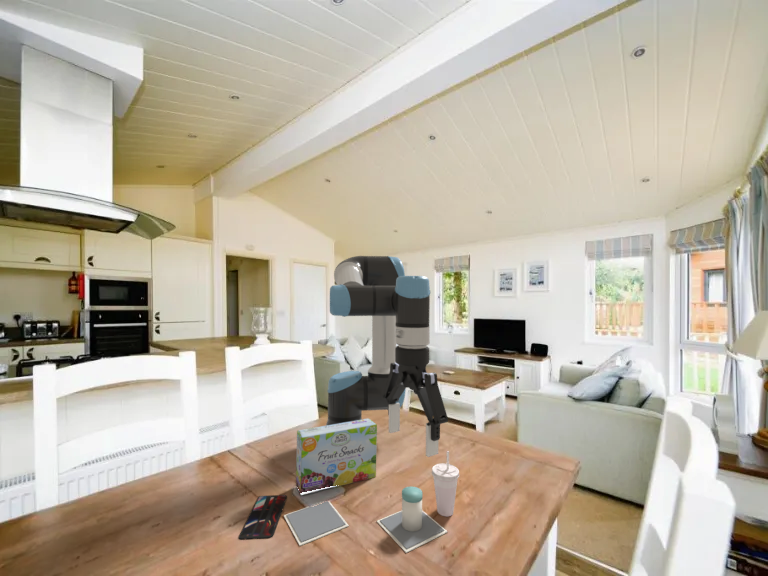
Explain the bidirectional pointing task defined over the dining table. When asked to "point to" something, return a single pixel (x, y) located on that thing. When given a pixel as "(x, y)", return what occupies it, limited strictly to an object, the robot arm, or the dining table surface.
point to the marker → (412, 508)
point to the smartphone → (263, 517)
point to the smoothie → (445, 486)
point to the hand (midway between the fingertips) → (411, 442)
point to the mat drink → (409, 538)
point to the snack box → (336, 454)
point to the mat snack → (314, 522)
